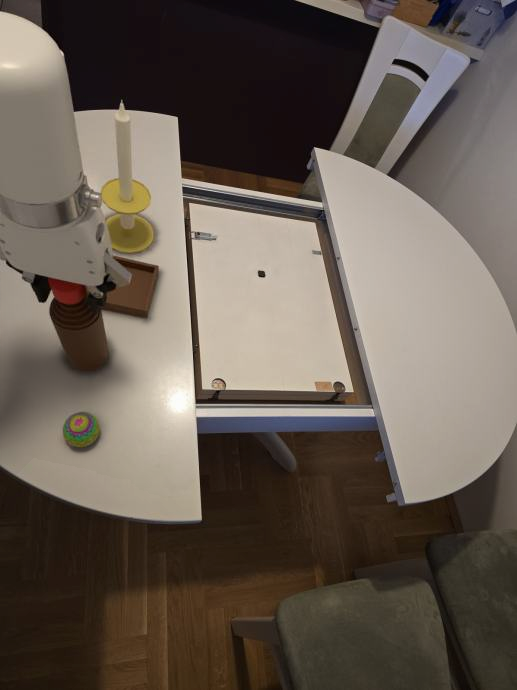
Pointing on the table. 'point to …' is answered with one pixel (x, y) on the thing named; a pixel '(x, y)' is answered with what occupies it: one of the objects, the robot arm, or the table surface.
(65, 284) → the cap
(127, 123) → the candle
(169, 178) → the table surface
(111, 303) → the tray
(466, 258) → the table surface
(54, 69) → the robot arm
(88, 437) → the egg
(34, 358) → the table surface
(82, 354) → the bottle
